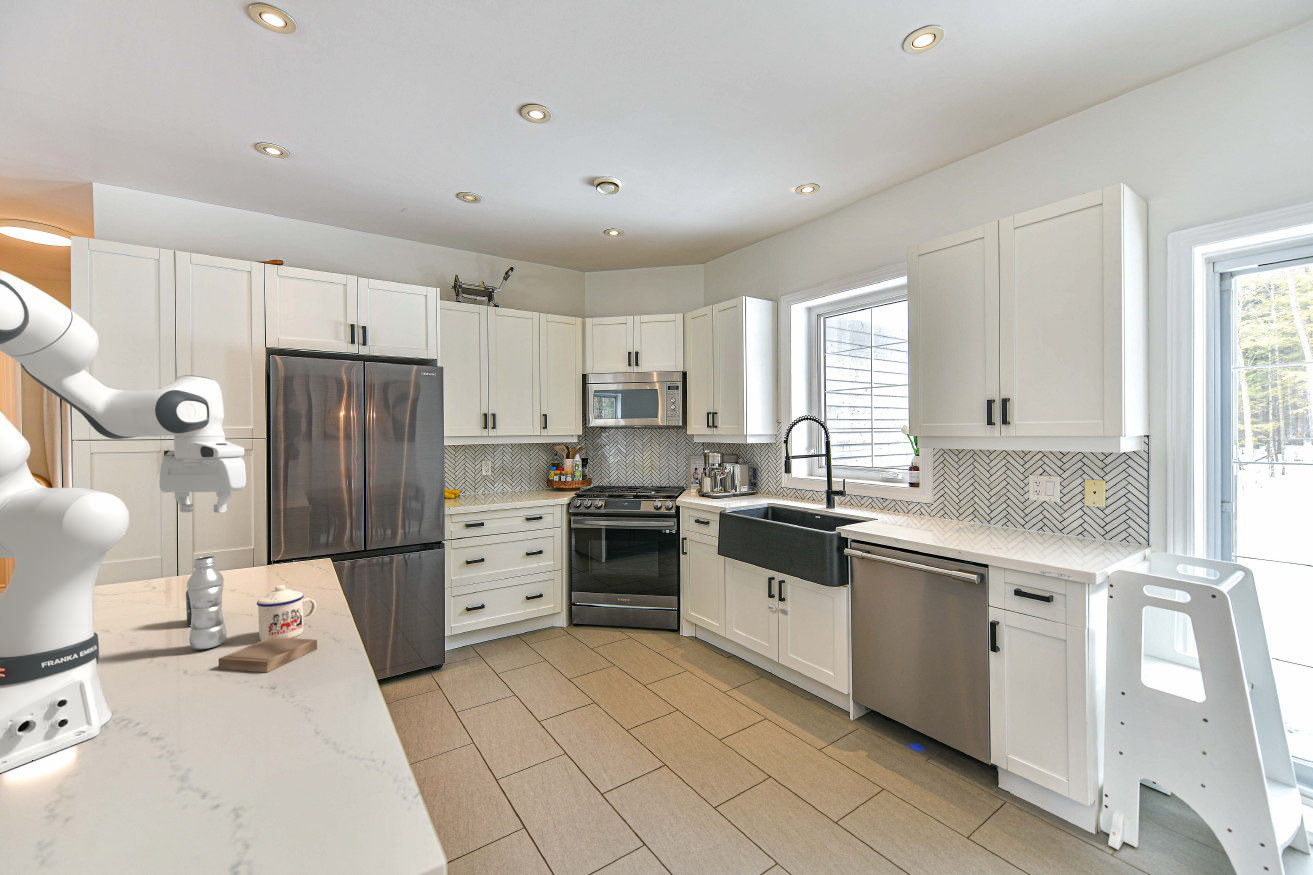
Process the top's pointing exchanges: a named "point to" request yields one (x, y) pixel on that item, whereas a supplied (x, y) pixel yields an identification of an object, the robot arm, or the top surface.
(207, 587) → the plastic bottle
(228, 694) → the top surface
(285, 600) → the teacup with lid
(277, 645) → the display stand
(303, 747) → the top surface
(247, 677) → the top surface
